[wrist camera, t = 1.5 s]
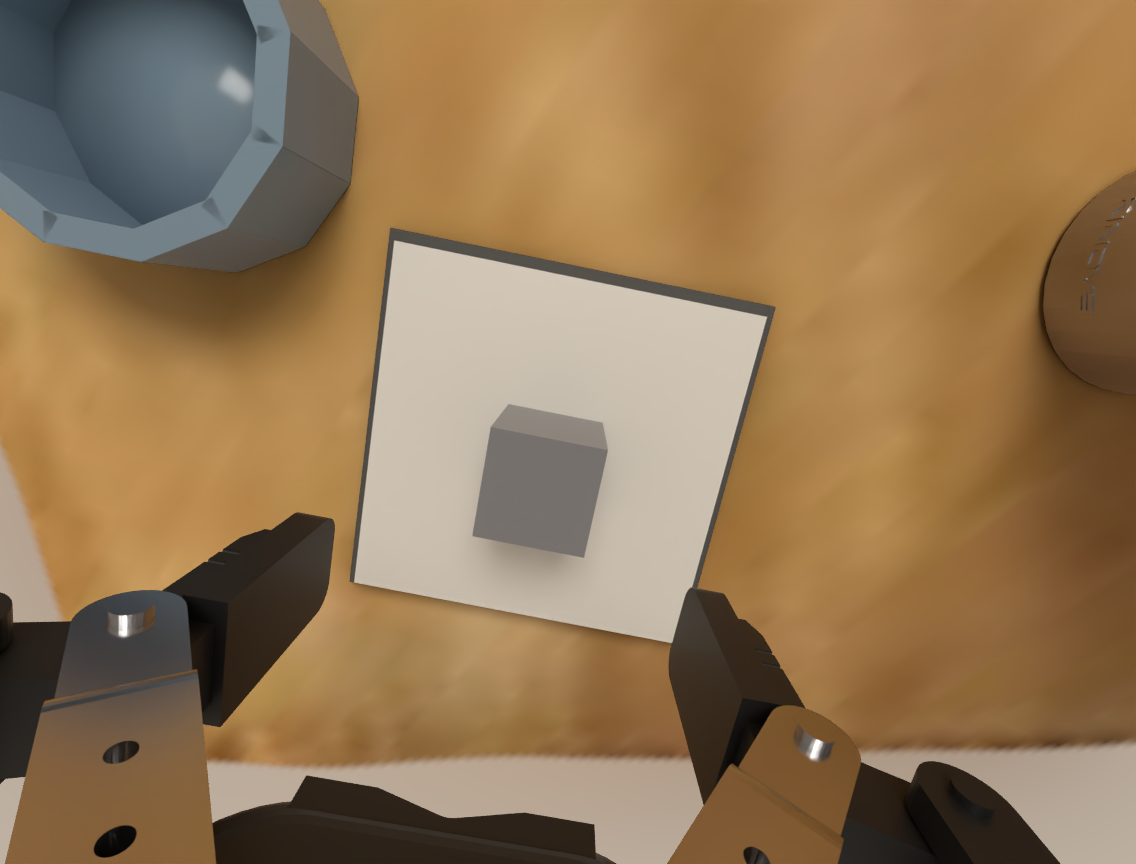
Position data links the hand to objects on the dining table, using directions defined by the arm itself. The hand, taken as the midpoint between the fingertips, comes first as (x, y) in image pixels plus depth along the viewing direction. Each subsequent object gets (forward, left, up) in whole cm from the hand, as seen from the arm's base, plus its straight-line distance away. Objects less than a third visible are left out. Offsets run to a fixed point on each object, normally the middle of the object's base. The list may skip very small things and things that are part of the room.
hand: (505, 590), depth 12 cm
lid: (0, 0, -12) cm, 12 cm away
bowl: (+16, -11, -12) cm, 23 cm away
